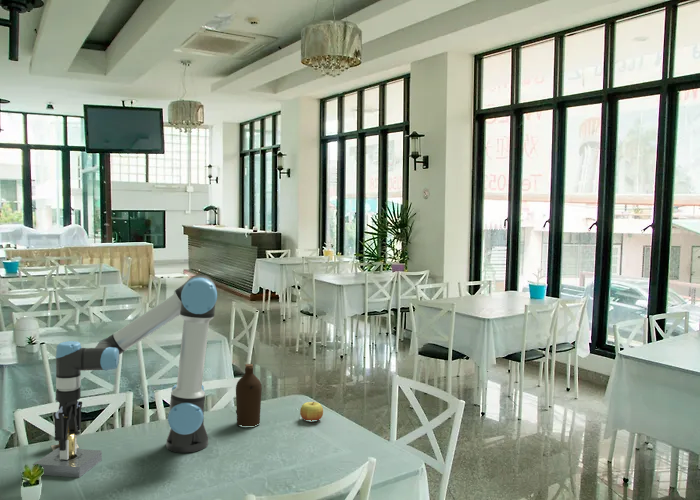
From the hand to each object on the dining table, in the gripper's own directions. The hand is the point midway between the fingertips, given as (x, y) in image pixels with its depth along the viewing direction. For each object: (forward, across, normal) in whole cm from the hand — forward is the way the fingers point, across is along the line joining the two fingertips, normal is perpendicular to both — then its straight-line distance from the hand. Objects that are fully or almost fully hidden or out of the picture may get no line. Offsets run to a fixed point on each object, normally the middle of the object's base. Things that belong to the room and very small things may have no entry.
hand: (68, 456), depth 203 cm
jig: (+4, 0, 0) cm, 4 cm away
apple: (+4, -60, +73) cm, 95 cm away
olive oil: (+4, -51, +48) cm, 70 cm away
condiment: (+4, -16, -11) cm, 20 cm away
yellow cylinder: (+3, 0, 0) cm, 3 cm away
